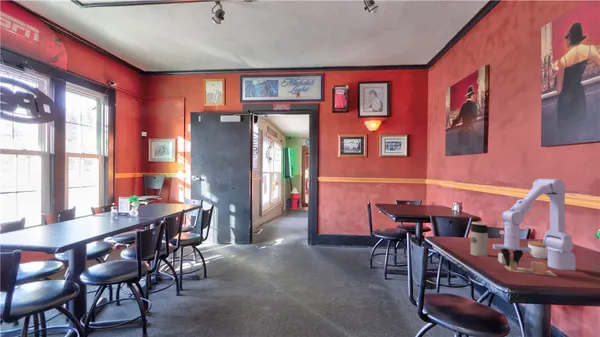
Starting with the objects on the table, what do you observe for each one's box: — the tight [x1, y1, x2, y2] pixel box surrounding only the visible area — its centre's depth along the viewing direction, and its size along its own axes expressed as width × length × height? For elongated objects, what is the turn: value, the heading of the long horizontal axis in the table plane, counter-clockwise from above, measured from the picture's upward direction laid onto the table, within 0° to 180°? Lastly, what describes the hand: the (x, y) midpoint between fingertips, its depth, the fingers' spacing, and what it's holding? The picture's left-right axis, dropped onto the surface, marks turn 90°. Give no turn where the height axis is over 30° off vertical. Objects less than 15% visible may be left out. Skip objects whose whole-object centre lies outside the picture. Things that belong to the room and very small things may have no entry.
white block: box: [497, 252, 506, 265], centre depth 141 cm, size 18×7×5 cm, turn 72°
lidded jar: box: [527, 239, 548, 260], centre depth 157 cm, size 11×11×9 cm
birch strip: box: [503, 258, 558, 277], centre depth 131 cm, size 18×7×5 cm, turn 72°
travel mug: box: [470, 221, 489, 258], centre depth 158 cm, size 8×8×18 cm
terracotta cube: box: [530, 261, 547, 274], centre depth 130 cm, size 4×4×4 cm
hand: (511, 266), depth 133 cm, fingers closed on birch strip, 2 cm apart
